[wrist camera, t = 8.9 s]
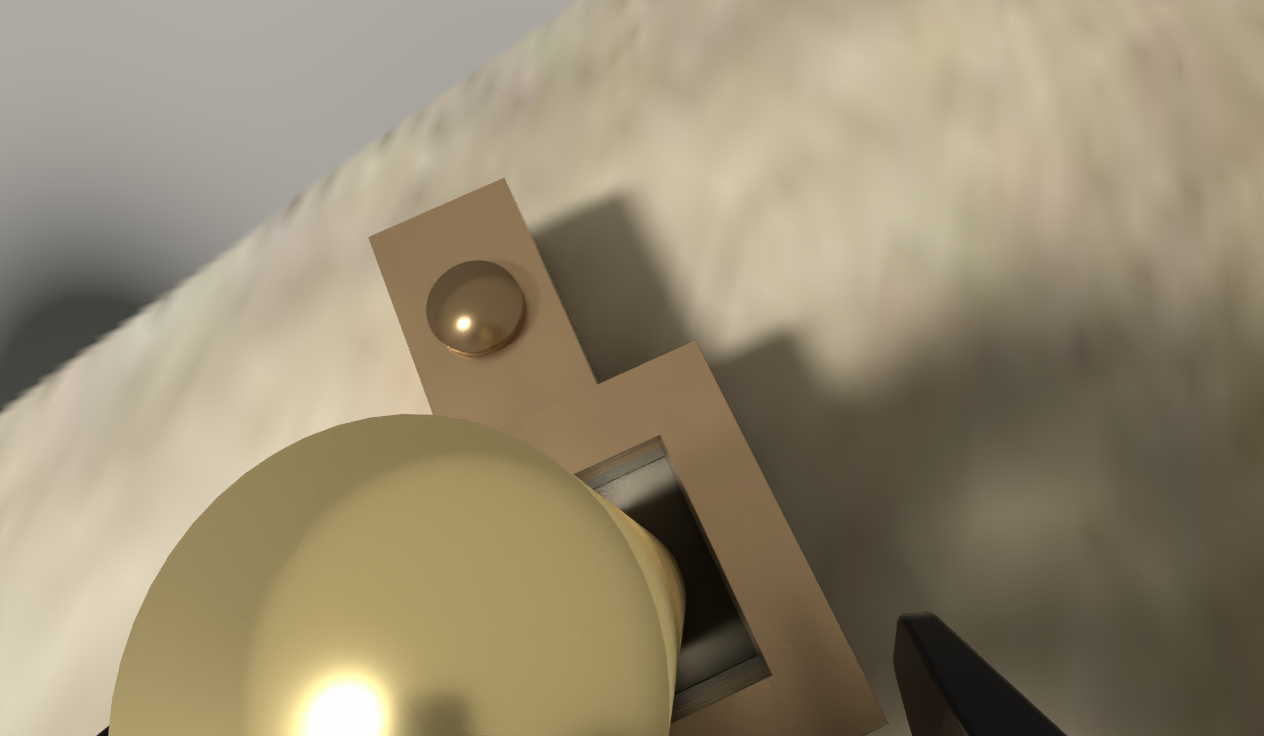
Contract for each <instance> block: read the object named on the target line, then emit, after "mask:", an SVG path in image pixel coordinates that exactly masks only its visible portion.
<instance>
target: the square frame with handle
mask: <svg viewBox="0 0 1264 736" xmlns="http://www.w3.org/2000/svg"><path fill="white" fill-rule="evenodd" d="M368 238H369V240H370V243H371V246H372V248H373V251H374V254H375V257H376V259H377V262H378V265H379V268H380V270H381V273H382V276H383V279H384V281H385V284H386V287H387V290H388V292H389V295H390V298H391V301H392V303H393V306H394V309H395V311H396V314H397V317H398V320H399V322H400V325H401V328H402V331H403V333H404V336H405V339H406V342H407V344H408V347H409V350H410V353H411V355H412V358H413V361H414V364H415V366H416V369H417V372H418V374H419V377H420V380H421V383H422V385H423V388H424V391H425V394H426V396H427V399H428V402H429V405H430V407H431V410H432V413H433V415H437V416H444V417H450V418H457V419H463V420H468V421H471V422H475V423H478V424H481V425H485V426H488V427H491V428H495V429H498V430H500V431H502V432H504V433H507V434H509V435H511V436H513V437H515V438H518V439H520V440H522V441H524V442H526V443H528V444H530V445H531V446H533V447H535V448H536V449H538V450H539V451H541V452H542V453H544V454H546V455H547V456H549V457H550V458H552V459H553V460H555V461H556V462H558V463H559V464H560V465H562V466H563V467H564V468H566V469H567V470H568V471H570V472H571V473H572V474H574V475H575V476H576V477H577V478H579V479H580V480H581V481H583V482H584V483H585V484H587V485H588V486H589V487H591V488H592V489H594V488H596V487H598V486H600V485H603V484H605V483H607V482H609V481H611V480H613V479H616V478H618V477H620V476H622V475H624V474H626V473H629V472H631V471H633V470H635V469H637V468H639V467H642V466H644V465H646V464H648V463H650V462H652V461H655V460H657V459H659V458H661V457H663V456H665V457H666V459H667V461H668V463H669V465H670V467H671V470H672V472H673V474H674V476H675V478H676V480H677V483H678V485H679V487H680V489H681V491H682V493H683V495H684V498H685V500H686V502H687V504H688V506H689V508H690V511H691V513H692V515H693V517H694V519H695V521H696V523H697V526H698V528H699V530H700V532H701V534H702V536H703V538H704V541H705V543H706V545H707V547H708V549H709V551H710V554H711V556H712V558H713V560H714V562H715V564H716V566H717V569H718V571H719V573H720V575H721V577H722V579H723V582H724V584H725V586H726V588H727V590H728V592H729V594H730V597H731V599H732V601H733V603H734V605H735V607H736V610H737V612H738V614H739V616H740V618H741V620H742V622H743V625H744V627H745V629H746V631H747V633H748V635H749V638H750V640H751V642H752V644H753V646H754V648H755V650H756V653H757V655H758V656H756V657H754V658H752V659H749V660H747V661H745V662H743V663H741V664H739V665H737V666H735V667H733V668H731V669H728V670H726V671H724V672H722V673H720V674H718V675H716V676H714V677H712V678H710V679H708V680H705V681H703V682H701V683H699V684H697V685H695V686H693V687H691V688H689V689H687V690H684V691H682V692H680V693H678V694H676V695H674V699H673V707H672V714H671V721H670V729H669V736H864V735H866V734H868V733H870V732H872V731H875V730H877V729H879V728H881V727H883V726H885V725H887V724H889V723H888V721H887V719H886V717H885V715H884V713H883V711H882V709H881V707H880V705H879V703H878V701H877V699H876V697H875V695H874V693H873V691H872V689H871V687H870V685H869V683H868V681H867V679H866V677H865V675H864V673H863V671H862V669H861V667H860V665H859V663H858V661H857V659H856V657H855V655H854V653H853V651H852V649H851V647H850V645H849V643H848V641H847V639H846V637H845V636H844V634H843V632H842V630H841V628H840V626H839V624H838V622H837V620H836V618H835V616H834V614H833V612H832V610H831V608H830V606H829V604H828V602H827V600H826V598H825V596H824V594H823V592H822V590H821V588H820V586H819V584H818V582H817V580H816V578H815V576H814V574H813V572H812V570H811V568H810V566H809V564H808V562H807V560H806V558H805V556H804V554H803V552H802V550H801V548H800V546H799V544H798V542H797V541H796V539H795V537H794V535H793V533H792V531H791V529H790V527H789V525H788V523H787V521H786V519H785V517H784V515H783V513H782V511H781V509H780V507H779V505H778V503H777V501H776V499H775V497H774V495H773V493H772V491H771V489H770V487H769V485H768V483H767V481H766V479H765V477H764V475H763V473H762V471H761V469H760V467H759V465H758V463H757V461H756V459H755V457H754V455H753V453H752V451H751V449H750V447H749V446H748V444H747V442H746V440H745V438H744V436H743V434H742V432H741V430H740V428H739V426H738V424H737V422H736V420H735V418H734V416H733V414H732V412H731V410H730V408H729V406H728V404H727V402H726V400H725V398H724V396H723V394H722V392H721V390H720V388H719V386H718V384H717V382H716V380H715V378H714V376H713V374H712V372H711V370H710V368H709V366H708V364H707V362H706V360H705V358H704V356H703V354H702V352H701V351H700V349H699V347H698V345H697V343H696V341H692V342H690V343H688V344H686V345H684V346H681V347H679V348H677V349H675V350H673V351H670V352H668V353H666V354H664V355H662V356H659V357H657V358H655V359H653V360H651V361H648V362H646V363H644V364H642V365H639V366H637V367H635V368H633V369H631V370H628V371H626V372H624V373H622V374H620V375H617V376H615V377H613V378H611V379H609V380H606V381H604V382H602V383H600V384H598V381H597V379H596V377H595V375H594V372H593V370H592V368H591V366H590V364H589V361H588V359H587V357H586V355H585V352H584V350H583V348H582V346H581V343H580V341H579V339H578V337H577V335H576V332H575V330H574V328H573V326H572V323H571V321H570V319H569V317H568V315H567V312H566V310H565V308H564V306H563V303H562V301H561V299H560V297H559V294H558V292H557V290H556V288H555V286H554V283H553V281H552V279H551V277H550V274H549V272H548V270H547V268H546V266H545V263H544V261H543V259H542V257H541V254H540V252H539V250H538V248H537V245H536V243H535V241H534V239H533V237H532V234H531V232H530V230H529V228H528V226H527V224H526V222H525V220H524V218H523V216H522V214H521V212H520V209H519V207H518V205H517V203H516V201H515V199H514V197H513V195H512V193H511V191H510V189H509V187H508V185H507V182H506V180H505V178H503V179H500V180H498V181H496V182H494V183H491V184H489V185H487V186H484V187H482V188H480V189H478V190H475V191H473V192H471V193H468V194H466V195H464V196H462V197H459V198H457V199H455V200H452V201H450V202H448V203H446V204H443V205H441V206H439V207H436V208H434V209H432V210H430V211H427V212H425V213H423V214H420V215H418V216H416V217H414V218H411V219H409V220H407V221H404V222H402V223H400V224H398V225H395V226H393V227H391V228H388V229H386V230H384V231H382V232H379V233H377V234H375V235H372V236H370V237H368Z"/></svg>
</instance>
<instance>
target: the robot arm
mask: <svg viewBox="0 0 1264 736" xmlns="http://www.w3.org/2000/svg"><path fill="white" fill-rule="evenodd" d="M893 660H894V669H895V674H896V678H897V682H898V686H899V689H900V693H901V697H902V700H903V704H904V708H905V711H906V715H907V719H908V722H909V726H910V730H911V733H912V736H1067V735H1066V734H1065V733H1064V732H1063V731H1061V730H1060V729H1059V728H1058V727H1057V726H1056V725H1055V724H1054V723H1053V722H1052V721H1051V720H1049V719H1048V718H1047V717H1046V716H1045V715H1044V714H1043V713H1042V712H1041V711H1040V710H1039V709H1037V708H1036V707H1035V706H1034V705H1033V704H1032V703H1031V702H1030V701H1029V700H1028V699H1027V698H1025V697H1024V696H1023V695H1022V694H1021V693H1020V692H1019V691H1018V690H1017V689H1016V688H1015V687H1014V686H1012V685H1011V684H1010V683H1009V682H1008V681H1007V680H1006V679H1005V678H1004V677H1003V676H1002V675H1000V674H999V673H998V672H997V671H996V670H995V669H994V668H993V667H992V666H991V665H990V664H988V663H987V662H986V661H985V660H984V659H983V658H982V657H981V656H980V655H979V654H978V653H977V652H975V651H974V650H973V649H972V648H971V647H970V646H969V645H968V644H967V643H966V642H965V641H963V640H962V639H961V638H960V637H959V636H958V635H957V634H956V633H955V632H954V631H953V630H951V629H950V628H949V627H948V626H947V625H946V624H945V623H944V622H943V621H942V620H941V619H939V618H938V617H937V616H936V615H934V614H932V613H929V612H921V613H907V614H902V615H900V616H899V618H898V621H897V628H896V637H895V647H894V657H893ZM108 733H109V726H108V727H107V728H105V729H104V730H103V731H102V732H100V733H99V734H98V735H97V736H108Z"/></svg>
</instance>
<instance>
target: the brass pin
mask: <svg viewBox="0 0 1264 736" xmlns="http://www.w3.org/2000/svg"><path fill="white" fill-rule="evenodd" d="M685 610H686V590H685V584H684V579H683V576H682V573H681V570H680V568H679V565H678V563H677V562H676V560H675V558H674V556H673V555H672V554H671V552H670V551H669V549H668V548H667V547H666V546H665V545H664V544H663V543H662V542H661V541H660V540H659V539H657V538H656V537H655V536H654V535H652V534H651V533H650V532H648V531H647V530H646V529H645V528H643V527H642V526H641V525H639V524H638V523H637V522H635V521H634V520H633V519H631V518H630V517H629V516H627V515H626V514H625V513H623V512H622V511H621V510H620V509H618V508H617V507H616V506H614V505H613V504H612V503H610V502H609V501H608V500H606V499H605V498H604V497H602V496H601V495H600V494H599V493H597V492H596V491H595V490H593V489H592V488H591V487H589V486H588V485H587V484H585V483H584V482H583V481H581V480H580V479H579V478H577V477H576V476H575V475H574V474H572V473H571V472H570V471H568V470H567V469H566V468H564V467H563V466H562V465H560V464H559V463H558V462H556V461H555V460H553V459H552V458H550V457H549V456H547V455H546V454H544V453H542V452H541V451H539V450H538V449H536V448H535V447H533V446H531V445H530V444H528V443H526V442H524V441H522V440H520V439H518V438H515V437H513V436H511V435H509V434H507V433H504V432H502V431H500V430H498V429H495V428H491V427H488V426H485V425H481V424H478V423H475V422H471V421H468V420H463V419H457V418H450V417H444V416H437V415H410V414H400V415H391V416H382V417H373V418H367V419H363V420H358V421H354V422H350V423H346V424H342V425H338V426H335V427H332V428H329V429H327V430H324V431H322V432H319V433H316V434H314V435H311V436H308V437H306V438H304V439H302V440H300V441H298V442H296V443H294V444H292V445H290V446H288V447H286V448H284V449H282V450H281V451H279V452H277V453H275V454H273V455H272V456H270V457H269V458H267V459H266V460H264V461H263V462H261V463H260V464H259V465H257V466H256V467H254V468H253V469H251V470H250V471H248V472H247V473H245V474H244V475H243V476H242V477H241V478H239V479H238V480H237V481H236V482H235V483H234V484H232V485H231V486H230V487H229V488H228V489H227V490H225V491H224V492H223V493H222V494H221V495H220V496H218V497H217V498H216V499H215V501H214V502H213V503H212V504H211V505H210V506H209V507H208V508H207V509H206V510H205V511H204V512H203V513H202V514H201V516H200V517H199V518H198V519H197V520H196V521H195V522H194V523H193V524H192V525H191V527H190V528H189V529H188V531H187V532H186V533H185V535H184V536H183V537H182V539H181V540H180V541H179V543H178V544H177V545H176V547H175V548H174V549H173V551H172V552H171V553H170V555H169V557H168V558H167V560H166V562H165V563H164V565H163V567H162V568H161V570H160V572H159V573H158V575H157V577H156V578H155V580H154V582H153V583H152V585H151V587H150V589H149V591H148V593H147V595H146V597H145V600H144V602H143V604H142V606H141V608H140V610H139V613H138V615H137V617H136V619H135V621H134V624H133V627H132V629H131V632H130V635H129V638H128V641H127V644H126V647H125V650H124V653H123V656H122V659H121V663H120V667H119V672H118V676H117V680H116V685H115V689H114V694H113V698H112V706H111V715H110V724H109V733H108V736H669V729H670V721H671V714H672V707H673V699H674V692H675V684H676V677H677V669H678V662H679V655H680V647H681V640H682V632H683V625H684V618H685Z"/></svg>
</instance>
